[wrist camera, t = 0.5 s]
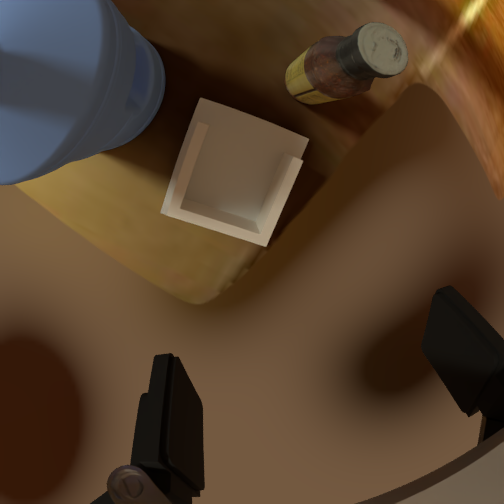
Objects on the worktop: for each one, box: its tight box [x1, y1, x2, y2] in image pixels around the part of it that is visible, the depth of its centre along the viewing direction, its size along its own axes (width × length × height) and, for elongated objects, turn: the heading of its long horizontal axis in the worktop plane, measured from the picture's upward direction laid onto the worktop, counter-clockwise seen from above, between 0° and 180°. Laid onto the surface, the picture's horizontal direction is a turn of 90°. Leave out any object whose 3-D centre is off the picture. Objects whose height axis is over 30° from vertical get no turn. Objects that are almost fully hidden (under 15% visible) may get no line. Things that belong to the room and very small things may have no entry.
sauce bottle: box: [285, 22, 408, 104], centre depth 23 cm, size 6×6×20 cm
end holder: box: [161, 98, 309, 247], centre depth 34 cm, size 15×14×6 cm
